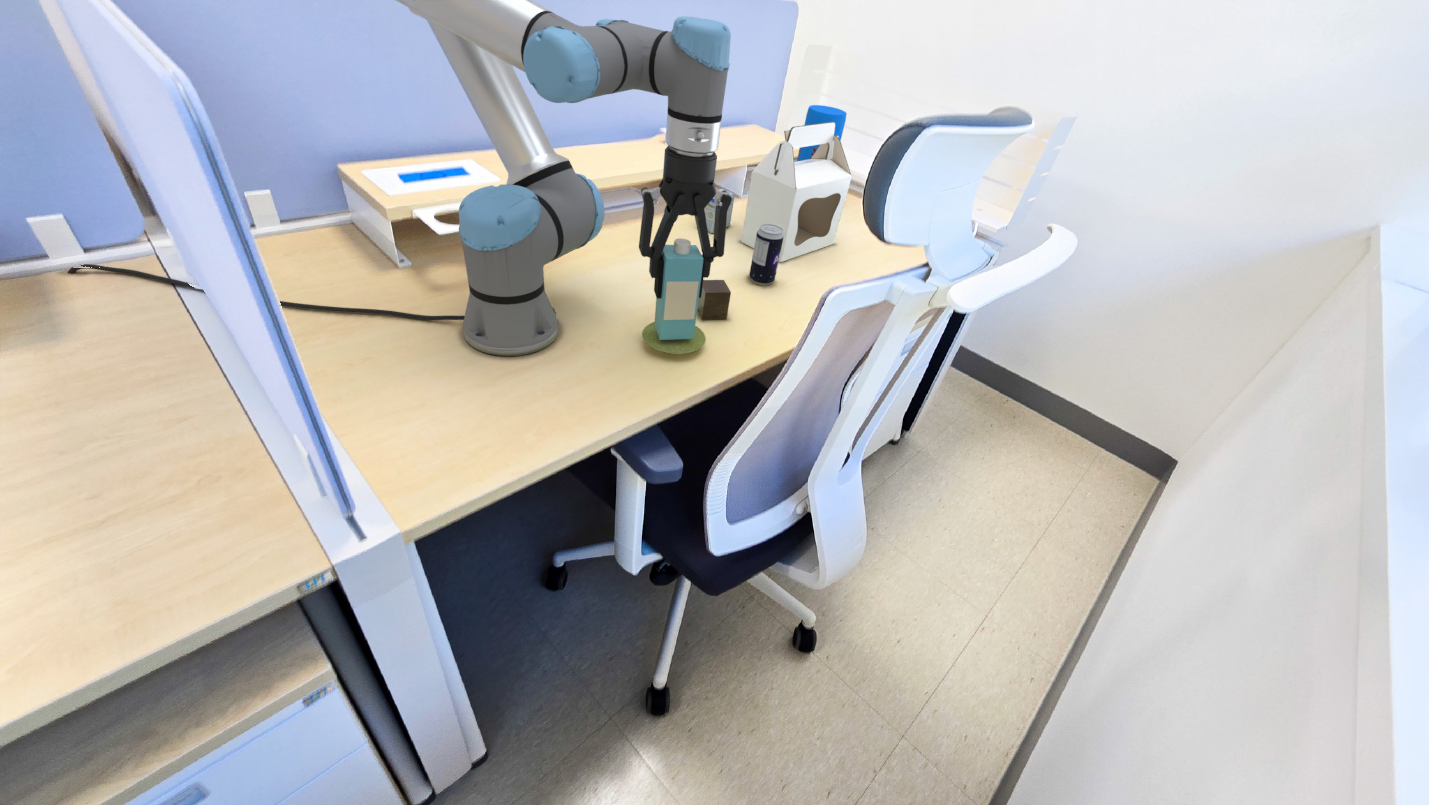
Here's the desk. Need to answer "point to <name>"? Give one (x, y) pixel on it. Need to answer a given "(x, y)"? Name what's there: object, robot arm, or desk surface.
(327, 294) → the desk surface
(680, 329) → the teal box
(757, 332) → the desk surface
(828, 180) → the gable box
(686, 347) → the green disc
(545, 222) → the robot arm
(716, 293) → the walnut block
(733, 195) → the medicine box
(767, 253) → the beverage can
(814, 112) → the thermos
